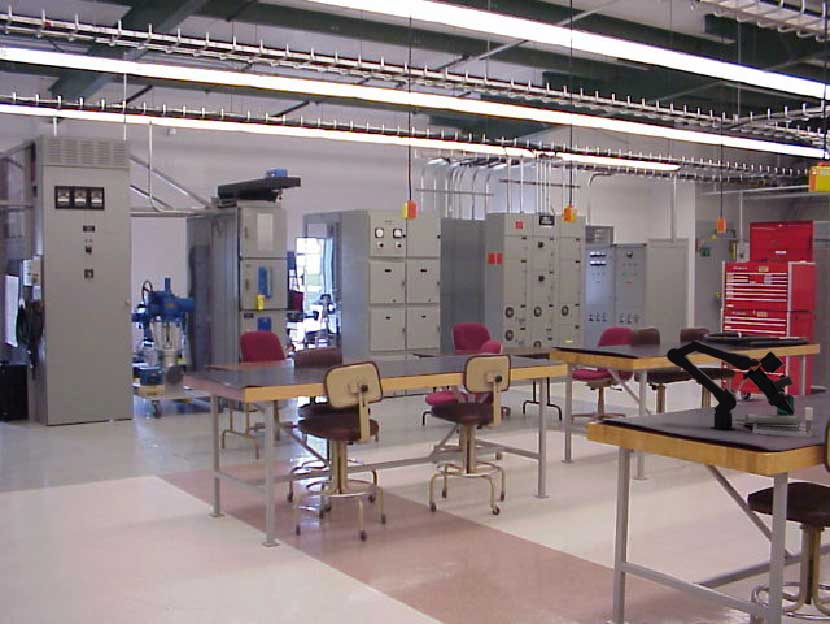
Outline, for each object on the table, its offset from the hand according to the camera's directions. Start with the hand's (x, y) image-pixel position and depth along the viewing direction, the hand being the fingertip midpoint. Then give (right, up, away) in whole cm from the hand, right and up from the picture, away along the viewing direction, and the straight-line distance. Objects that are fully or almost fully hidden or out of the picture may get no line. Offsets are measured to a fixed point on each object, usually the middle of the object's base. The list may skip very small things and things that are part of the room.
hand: (793, 413), depth 318 cm
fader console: (-4, -8, +2) cm, 8 cm away
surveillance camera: (+10, -7, +27) cm, 30 cm away
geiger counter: (-3, -6, +21) cm, 21 cm away
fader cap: (+5, -6, -2) cm, 8 cm away
